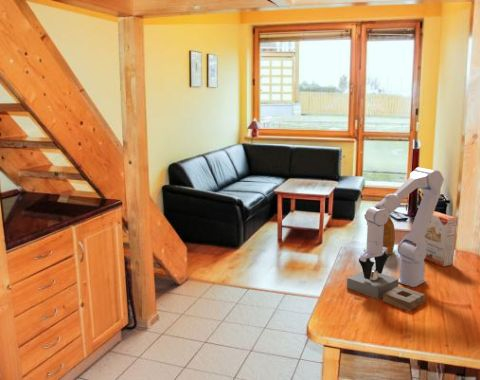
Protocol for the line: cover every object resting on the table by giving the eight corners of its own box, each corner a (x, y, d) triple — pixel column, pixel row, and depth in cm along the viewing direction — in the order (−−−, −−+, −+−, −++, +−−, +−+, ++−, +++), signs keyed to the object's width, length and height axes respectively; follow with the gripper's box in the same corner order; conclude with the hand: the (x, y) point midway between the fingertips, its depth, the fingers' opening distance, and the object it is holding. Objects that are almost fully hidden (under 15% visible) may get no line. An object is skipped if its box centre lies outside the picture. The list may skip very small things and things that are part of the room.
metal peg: (371, 286, 184) (372, 268, 183) (378, 288, 182) (379, 271, 181) (366, 288, 182) (367, 270, 181) (373, 291, 180) (374, 272, 179)
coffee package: (394, 248, 228) (397, 202, 224) (393, 257, 216) (396, 208, 212) (372, 246, 231) (374, 201, 227) (370, 254, 220) (373, 207, 215)
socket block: (398, 293, 178) (398, 285, 177) (424, 302, 170) (424, 294, 170) (382, 301, 171) (383, 293, 171) (409, 310, 164) (409, 302, 163)
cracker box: (417, 257, 217) (421, 211, 212) (428, 255, 219) (431, 209, 215) (442, 267, 204) (447, 218, 200) (453, 265, 207) (457, 217, 202)
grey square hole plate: (367, 279, 192) (367, 269, 191) (397, 289, 182) (398, 278, 181) (346, 288, 183) (347, 277, 182) (377, 299, 173) (378, 288, 172)
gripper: (376, 233, 186) (374, 267, 189) (353, 241, 177) (352, 277, 180) (393, 237, 181) (391, 272, 184) (370, 246, 172) (368, 282, 174)
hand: (373, 275), depth 181 cm, fingers open, 7 cm apart
